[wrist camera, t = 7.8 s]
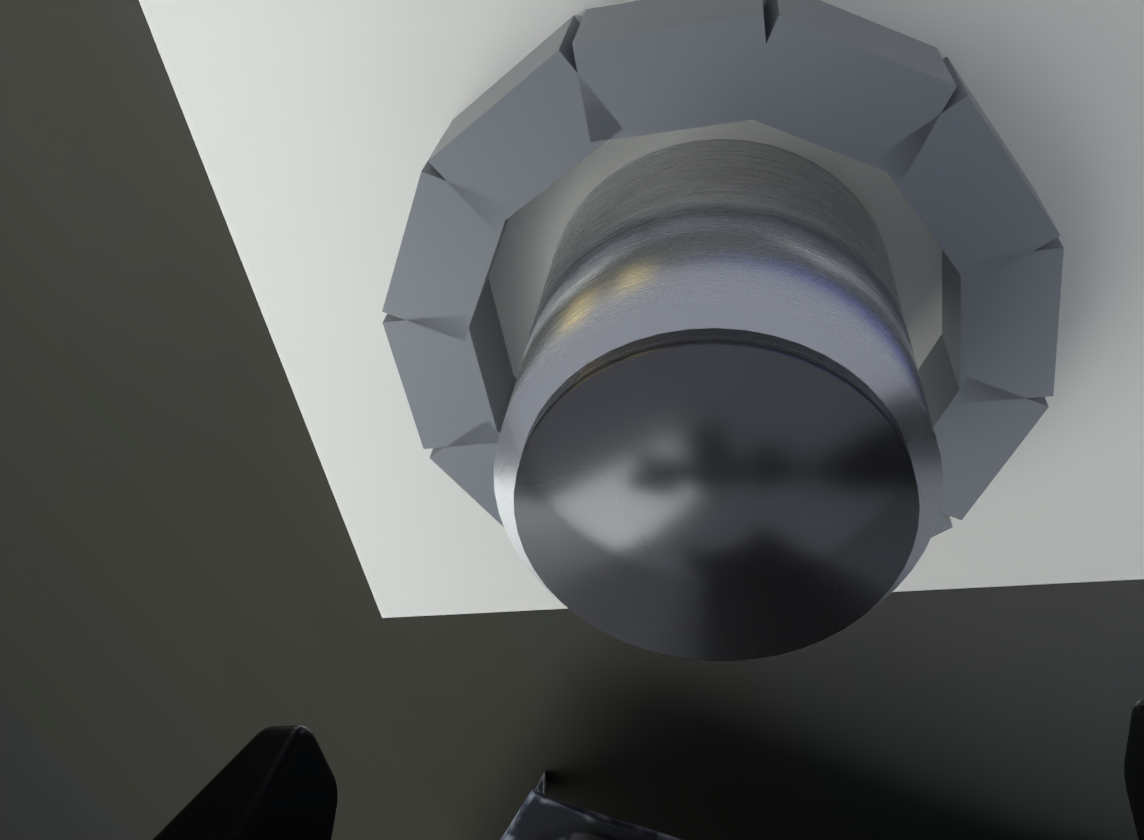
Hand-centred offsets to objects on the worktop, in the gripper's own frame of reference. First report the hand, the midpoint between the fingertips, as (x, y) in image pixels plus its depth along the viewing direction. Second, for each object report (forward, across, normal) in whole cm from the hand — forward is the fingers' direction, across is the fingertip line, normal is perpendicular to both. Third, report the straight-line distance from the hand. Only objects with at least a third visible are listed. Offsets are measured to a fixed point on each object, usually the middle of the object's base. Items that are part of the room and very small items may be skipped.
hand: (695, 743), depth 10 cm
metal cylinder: (+8, 0, 0) cm, 8 cm away
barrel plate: (+9, 0, 0) cm, 9 cm away
